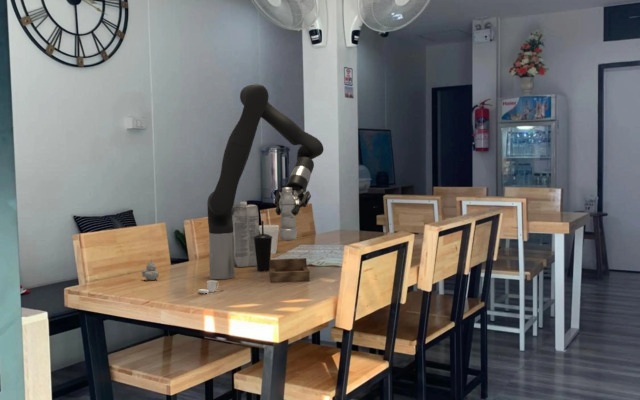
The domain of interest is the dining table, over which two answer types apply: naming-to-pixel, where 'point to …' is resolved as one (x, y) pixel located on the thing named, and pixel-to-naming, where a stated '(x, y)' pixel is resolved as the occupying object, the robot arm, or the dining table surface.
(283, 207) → the plastic bottle
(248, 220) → the juice carton
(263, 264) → the drinking cup
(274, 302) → the dining table surface
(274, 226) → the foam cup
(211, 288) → the teacup and saucer
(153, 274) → the rubber duck
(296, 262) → the drawer
